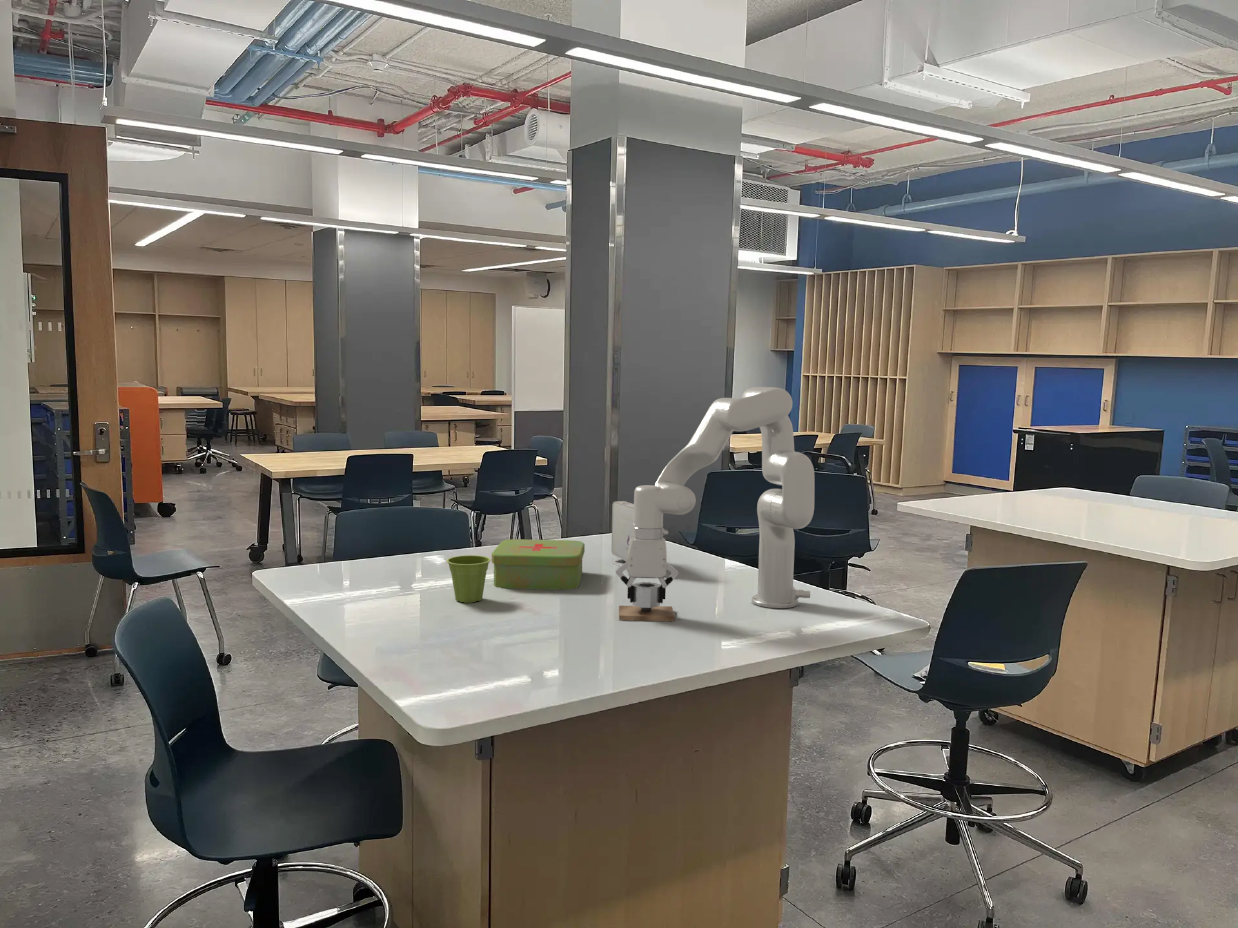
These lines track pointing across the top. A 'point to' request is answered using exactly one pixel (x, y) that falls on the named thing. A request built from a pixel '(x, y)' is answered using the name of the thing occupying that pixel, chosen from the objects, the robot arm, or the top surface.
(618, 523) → the network device
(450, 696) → the top surface
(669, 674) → the top surface
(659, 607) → the post block
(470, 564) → the plant pot
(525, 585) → the first aid kit
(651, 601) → the steel ring
